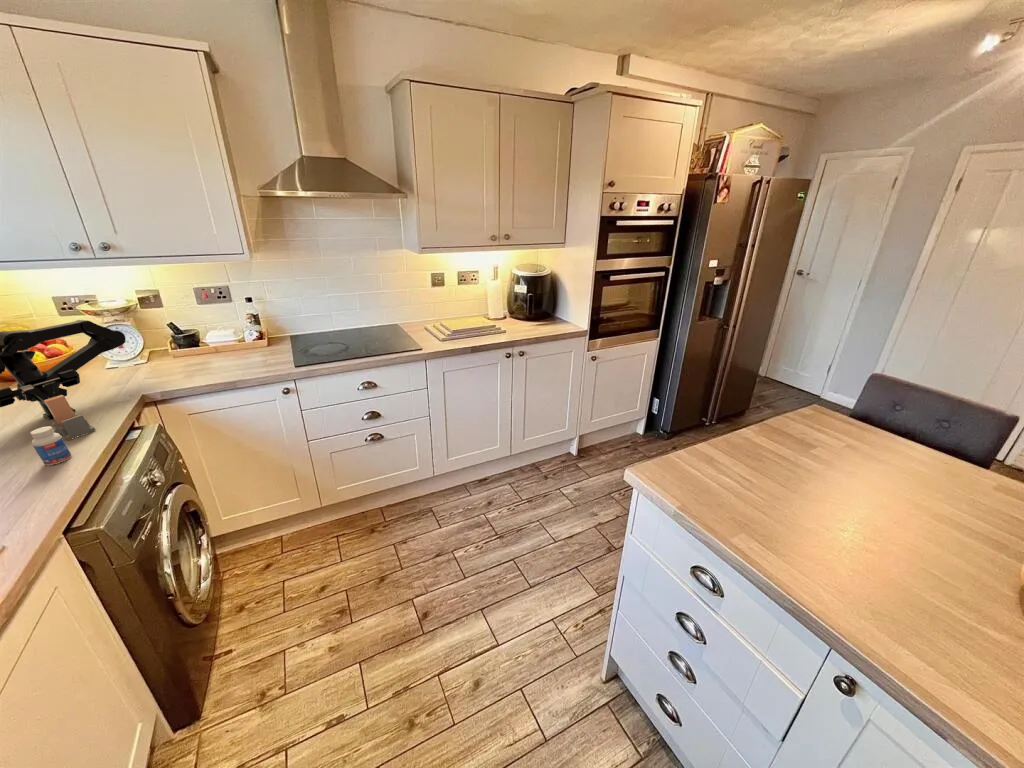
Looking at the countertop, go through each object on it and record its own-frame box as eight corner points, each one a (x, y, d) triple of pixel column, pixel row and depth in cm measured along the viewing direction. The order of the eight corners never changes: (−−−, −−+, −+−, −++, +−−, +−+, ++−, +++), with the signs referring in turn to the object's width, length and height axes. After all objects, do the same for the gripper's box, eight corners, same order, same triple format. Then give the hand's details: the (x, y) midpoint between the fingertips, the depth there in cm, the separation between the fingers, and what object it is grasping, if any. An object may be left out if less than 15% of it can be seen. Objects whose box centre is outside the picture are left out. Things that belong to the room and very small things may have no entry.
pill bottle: (54, 467, 110) (35, 436, 106) (39, 465, 111) (19, 434, 107) (77, 455, 115) (60, 425, 111) (63, 453, 116) (45, 424, 112)
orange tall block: (60, 428, 126) (43, 400, 122) (77, 422, 129) (61, 394, 125) (63, 430, 125) (46, 401, 121) (80, 424, 128) (64, 396, 124)
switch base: (55, 433, 126) (45, 416, 124) (82, 423, 131) (73, 407, 129) (68, 440, 122) (58, 423, 119) (95, 430, 127) (86, 413, 124)
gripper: (65, 372, 139) (94, 407, 139) (-17, 395, 125) (16, 434, 125) (62, 354, 132) (93, 391, 132) (-24, 376, 118) (11, 417, 118)
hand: (55, 408), depth 127 cm, fingers closed
